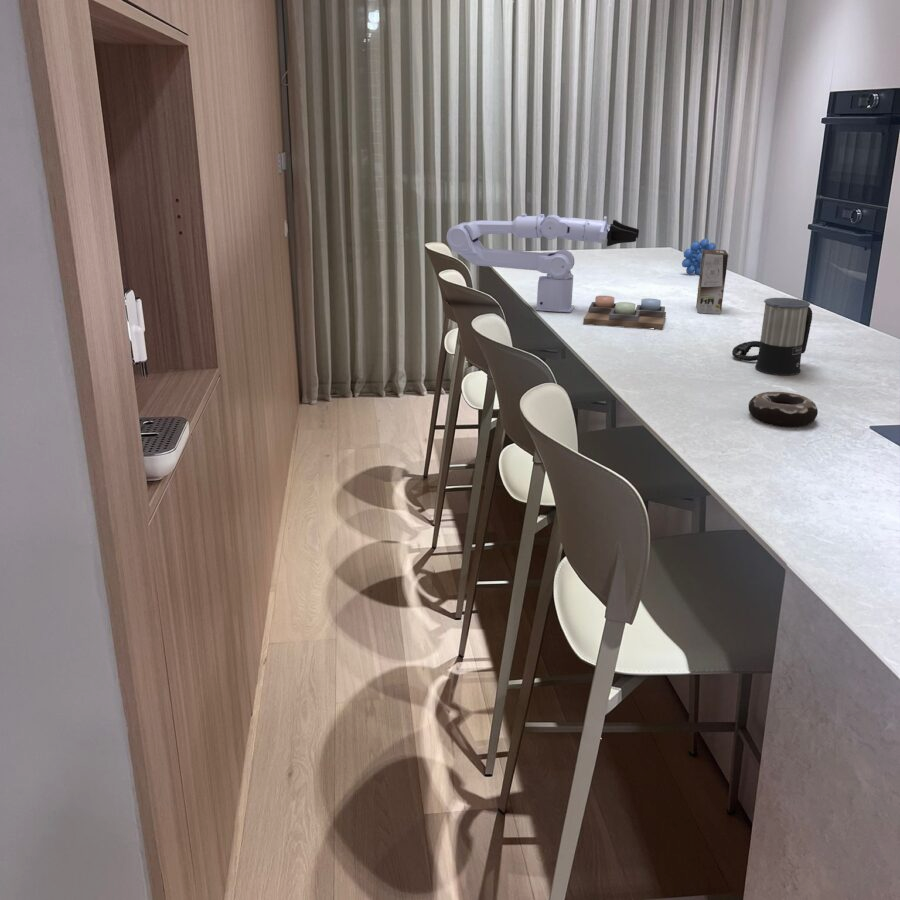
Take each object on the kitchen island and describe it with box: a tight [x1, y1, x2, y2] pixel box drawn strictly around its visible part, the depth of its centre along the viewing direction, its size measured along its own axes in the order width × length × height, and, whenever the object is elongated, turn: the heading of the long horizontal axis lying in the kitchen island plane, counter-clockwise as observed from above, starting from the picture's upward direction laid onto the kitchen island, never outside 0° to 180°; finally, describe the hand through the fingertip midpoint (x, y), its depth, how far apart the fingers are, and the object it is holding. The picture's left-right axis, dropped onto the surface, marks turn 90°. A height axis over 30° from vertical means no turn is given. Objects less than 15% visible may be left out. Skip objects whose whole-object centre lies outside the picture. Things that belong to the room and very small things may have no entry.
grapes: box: [681, 238, 717, 276], centre depth 299 cm, size 12×7×12 cm, turn 95°
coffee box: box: [696, 249, 729, 315], centre depth 244 cm, size 9×6×16 cm
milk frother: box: [731, 297, 813, 376], centre depth 192 cm, size 14×16×15 cm
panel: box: [582, 301, 667, 330], centre depth 233 cm, size 20×15×3 cm
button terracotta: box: [594, 295, 615, 308], centre depth 237 cm, size 5×5×2 cm
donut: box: [748, 391, 818, 428], centre depth 160 cm, size 12×12×4 cm
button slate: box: [640, 298, 662, 311], centre depth 234 cm, size 5×5×2 cm
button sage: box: [615, 301, 637, 315], centre depth 229 cm, size 5×5×2 cm
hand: (637, 235), depth 233 cm, fingers open, 7 cm apart
